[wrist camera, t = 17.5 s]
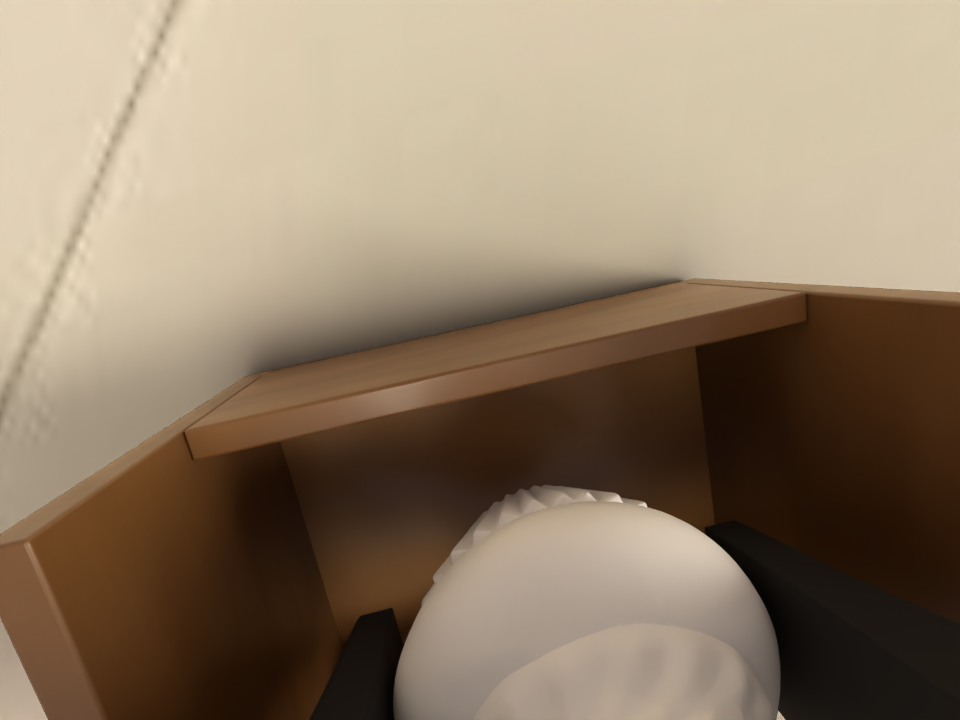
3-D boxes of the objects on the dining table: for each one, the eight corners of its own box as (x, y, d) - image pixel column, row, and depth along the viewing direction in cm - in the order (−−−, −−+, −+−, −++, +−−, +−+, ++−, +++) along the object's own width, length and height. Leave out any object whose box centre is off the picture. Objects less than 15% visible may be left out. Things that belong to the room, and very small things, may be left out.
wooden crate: (245, 375, 14) (-34, 553, 5) (696, 278, 14) (1066, 297, 6) (331, 653, 15) (226, 1106, 7) (726, 550, 16) (1039, 844, 8)
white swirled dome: (677, 414, 11) (1092, 711, 4) (653, 642, 13) (929, 1118, 6) (391, 430, 10) (353, 826, 4) (405, 671, 12) (396, 1256, 5)
